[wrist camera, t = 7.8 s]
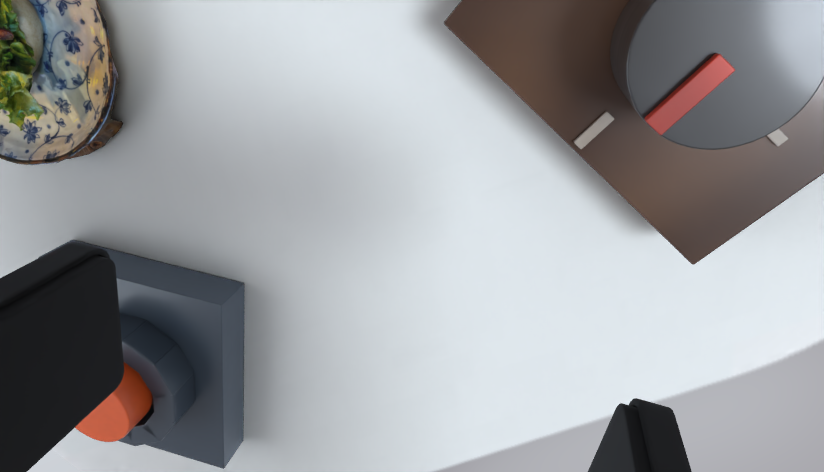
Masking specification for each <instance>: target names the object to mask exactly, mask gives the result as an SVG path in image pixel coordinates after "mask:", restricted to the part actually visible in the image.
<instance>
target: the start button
mask: <svg viewBox="0 0 824 472" xmlns="http://www.w3.org/2000/svg"><path fill="white" fill-rule="evenodd" d="M151 405H152V393H151V392H150V390H149V388H148V387H147V385H146V384H145V382H144V381H143V379H142V377H141V376H140V374H139V373H138V372H137V371H135V370H134V369H133V368H131V367H130V366H129V365H127V364H126V363H125V362H124V375H123V379H122V381H121V383H120V385H119V386H118V387H117V389H116V390H115V391H114V392H113V393H111V394H110V395H109V396H108V397H107V398H106V399H105V400H104V401H103V402H102V403H101V404H100V405H98V406H97V407H96V408H95V409H94V410H93V411H92V412H91V413H90V414H89V415H88V416H87V417H85V418H84V419H83V420H82V421H81V422H80V423H79V424H78V425H77V426H76V427H75V428H76V429H77V430H79V431H80V432H82V433H83V434H85V435H87V436H89V437H91V438H93V439H96V440H99V441H104V442H114V441H118V440H120V439H122V438H124V437H125V436H126V435H127V434H128V433H129V432H130V431H131V430H132V429H133V428H134V427H135V425H136V424H137V423H138V422H139V421H140V420H141V419H142V418H143V417H144V416H145V415H146V414H147V413H148V412H149V410H150V408H151Z"/></svg>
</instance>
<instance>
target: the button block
mask: <svg viewBox="0 0 824 472" xmlns="http://www.w3.org/2000/svg"><path fill="white" fill-rule="evenodd" d="M70 242H79V241H75V240H71V241H69V242H67V243H70ZM67 243H65V244H67ZM80 243H83V242H80ZM65 244H63V245H65ZM83 244H87V243H83ZM63 245H61V246H63ZM87 245H90V246H94V247H97V248H101V249H104V250H105V251H107V253H108V254H109V256H110V259H111V260H112V261H113V262H114V263H115V267H116V277H117V289H118V301H119V313H120V325H121V337H122V348H123V360H124V362H125V363H126V364H127V365H129V366H130V367H131V368H133V369H134V370H135V371H137V372H138V373H139V374H140V376H141V377H142V379H143V381H144V382H145V384H146V385H147V387H148V388H149V390H150V392H151V393H152V405H151V408H150V410H149V412H148V413H147V414H146V415H145V416H144V417H143V418H142V419H141V420H140V421H139V422H138V423H137V424H136V425H135V427H134V428H133V429H132V430H131V431H130V432H129V433H128V434H127V435H126V436H125V437H124V438H122V439H120V440H118V441H120V442H124V443H127V444H130V445H134V446H138V445H144V444H145V445H148V446H152V447H155V448H158V449H161V450H165V451H168V452H171V453H174V454H178V455H181V456H184V457H187V458H191V459H194V460H197V461H200V462H204V463H207V464H210V465H213V466H217V467H220V468H223V469H224V468H225V466H226V465H227V463H228V462H229V460H230V459H231V457H232V456H233V455H234V453H235V452H236V450H237V449H238V447H239V446H240V444H241V443H242V441H243V391H244V283H241V282H237V281H233V280H229V279H225V278H221V277H217V276H213V275H209V274H205V273H201V272H197V271H194V270H190V269H186V268H182V267H178V266H174V265H170V264H166V263H162V262H158V261H154V260H150V259H146V258H142V257H138V256H134V255H130V254H126V253H122V252H119V251H115V250H111V249H107V248H103V247H99V246H95V245H91V244H87ZM61 246H59V247H61ZM59 247H57V248H59ZM57 248H56V249H57ZM56 249H54V250H56ZM54 250H52V251H54ZM52 251H50V252H52ZM50 252H48V253H50ZM48 253H46V254H48ZM46 254H44V255H46ZM44 255H42V256H44ZM42 256H40V257H42ZM40 257H39V258H40Z"/></svg>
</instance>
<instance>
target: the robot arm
mask: <svg viewBox="0 0 824 472" xmlns="http://www.w3.org/2000/svg"><path fill="white" fill-rule="evenodd" d="M123 375H124V360H123V348H122V337H121V325H120V313H119V301H118V289H117V277H116V267H115V263H114V262H113V261H112V260H111V259H110V256H109V254H108V253H107V251H105V250H104V249H101V248H97V247H94V246H90V245H87V244H83V243H80V242H70V243H67V244H65V245H63V246H61V247H59V248H57V249H56V250H54V251H52V252H50V253H48V254H46V255H44V256H42V257H40V258H38V259H36V260H35V261H33V262H31V263H29V264H27V265H25V266H23V267H21V268H19V269H17V270H15V271H14V272H12V273H10V274H8V275H6V276H4V277H2V278H0V472H27V471H28V470H29V469H30V468H31V467H32V466H33V465H34V464H36V463H37V462H38V461H39V460H40V459H41V458H42V457H43V456H44V455H45V454H46V453H47V452H49V451H50V450H51V449H52V448H53V447H54V446H55V445H56V444H57V443H58V442H59V441H60V440H62V439H63V438H64V437H65V436H66V435H67V434H68V433H69V432H70V431H71V430H72V429H74V428H75V427H76V426H77V425H78V424H79V423H80V422H81V421H82V420H83V419H84V418H85V417H87V416H88V415H89V414H90V413H91V412H92V411H93V410H94V409H95V408H96V407H97V406H98V405H100V404H101V403H102V402H103V401H104V400H105V399H106V398H107V397H108V396H109V395H110V394H111V393H113V392H114V391H115V390H116V389H117V387H118V386H119V385H120V383H121V381H122V379H123ZM588 472H691V468H690V465H689V462H688V458H687V455H686V452H685V448H684V445H683V442H682V438H681V435H680V432H679V428H678V425H677V422H676V418H675V415H674V413H673V410H672V409H671V408H669V407H665V406H662V405H658V404H655V403H651V402H647V401H644V400H640V399H637V398H636V399H633V400H632V401H631V402H630V404H629V405H625V404H622V403H621V404H619V405H618V406H617V408H616V410H615V412H614V414H613V416H612V419H611V421H610V423H609V425H608V428H607V430H606V432H605V434H604V437H603V439H602V441H601V443H600V446H599V448H598V450H597V452H596V455H595V457H594V459H593V462H592V464H591V466H590V468H589V471H588Z"/></svg>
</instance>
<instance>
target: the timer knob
mask: <svg viewBox="0 0 824 472" xmlns="http://www.w3.org/2000/svg"><path fill="white" fill-rule="evenodd" d="M610 61H611V67H612V71H613V75H614V78H615V80H616V82H617V84H618V86H619V88H620V89H621V91H622V92H623V94H624V95H625V96H626V98H627V99H628V100H629V102H630V103H631V105H632V106H633V107H634V109H635V110H636V111H637V113H638V114H639V115H640V117H641V118H642V119H643V120H644V122H645V123H646V124H647V125H648V126H649V127H650V128H651V129H652V130H654V131H655V132H656V133H657V134H659V135H660V136H662V137H664V138H665V139H667V140H669V141H671V142H674V143H676V144H678V145H682V146H685V147H689V148H695V149H703V150H718V149H728V148H733V147H738V146H742V145H745V144H748V143H751V142H754V141H756V140H758V139H761V138H763V137H765V136H767V135H769V134H770V133H772V132H774V131H776V130H777V129H779V128H780V127H782V126H783V125H784V124H786V123H787V122H789V121H790V120H791V119H792V118H793V117H794V116H796V115H797V114H798V113H799V112H800V111H801V110H802V109H803V108H804V107H805V105H806V104H807V103H808V102H809V101H810V100H811V98H812V97H813V95H814V94H815V93H816V91H817V90H818V88H819V86H820V85H821V83H822V81H823V79H824V0H630V1H629V2H628V3H627V5H626V6H625V8H624V9H623V11H622V13H621V15H620V16H619V18H618V20H617V23H616V26H615V28H614V31H613V35H612V39H611V47H610Z"/></svg>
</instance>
